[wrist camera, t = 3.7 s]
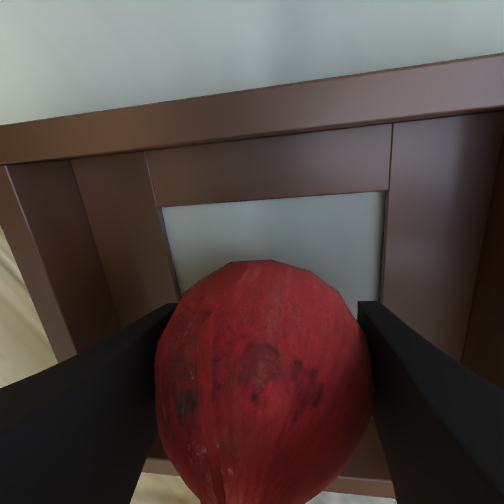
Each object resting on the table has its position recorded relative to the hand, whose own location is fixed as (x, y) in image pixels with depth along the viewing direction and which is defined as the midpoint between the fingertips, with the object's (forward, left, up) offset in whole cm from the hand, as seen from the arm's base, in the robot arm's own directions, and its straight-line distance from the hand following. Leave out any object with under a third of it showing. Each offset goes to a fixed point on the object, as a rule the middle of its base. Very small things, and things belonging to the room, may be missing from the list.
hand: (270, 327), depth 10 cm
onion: (0, 0, -2) cm, 2 cm away
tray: (0, 0, -2) cm, 2 cm away
